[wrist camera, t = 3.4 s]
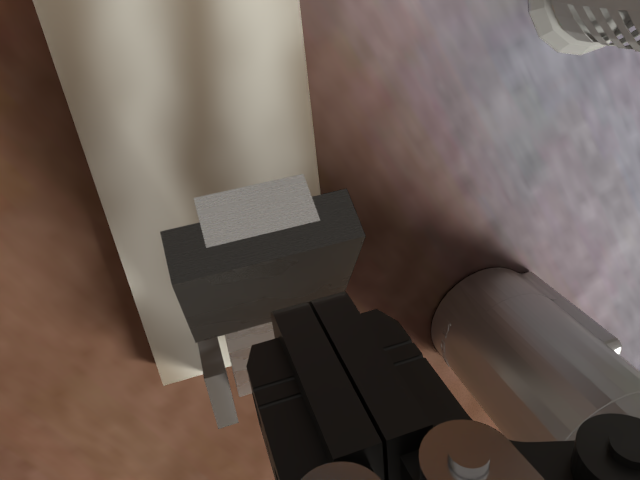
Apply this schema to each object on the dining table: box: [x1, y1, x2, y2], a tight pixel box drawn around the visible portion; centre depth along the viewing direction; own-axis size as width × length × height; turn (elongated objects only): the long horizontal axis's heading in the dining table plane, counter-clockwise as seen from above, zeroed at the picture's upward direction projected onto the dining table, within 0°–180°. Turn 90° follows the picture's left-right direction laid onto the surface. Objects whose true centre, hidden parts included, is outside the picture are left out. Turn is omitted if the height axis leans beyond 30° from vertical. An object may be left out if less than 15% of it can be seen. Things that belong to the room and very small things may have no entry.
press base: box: [33, 0, 321, 429], centre depth 29 cm, size 12×24×7 cm, turn 5°
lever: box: [160, 174, 366, 397], centre depth 23 cm, size 5×21×2 cm
